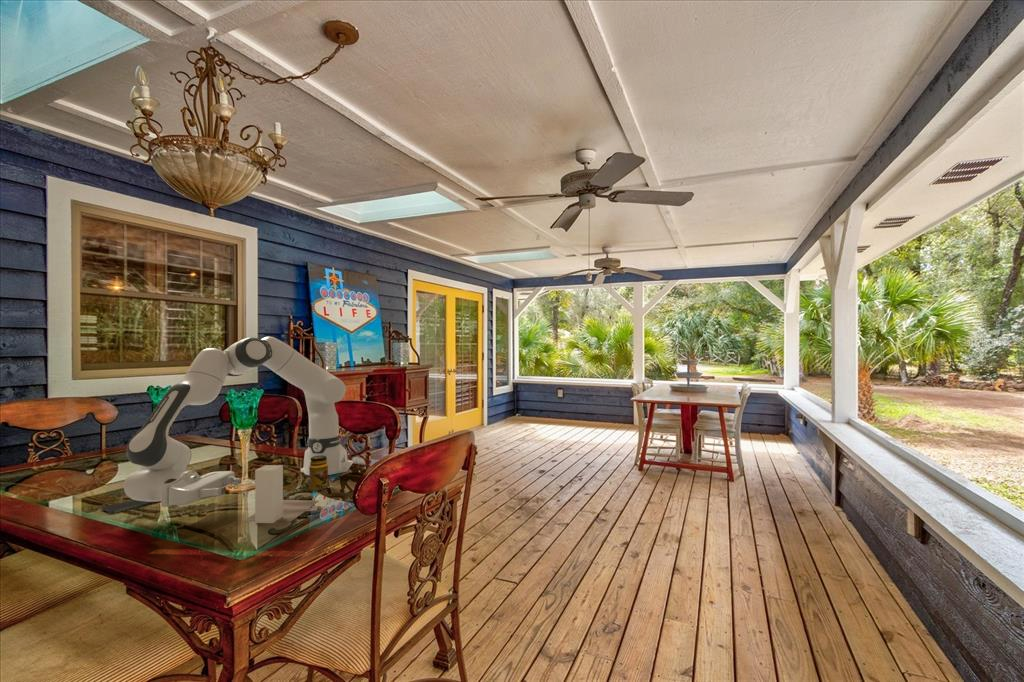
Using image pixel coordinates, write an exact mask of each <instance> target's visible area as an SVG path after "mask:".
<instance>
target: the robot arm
mask: <svg viewBox="0 0 1024 682" xmlns="http://www.w3.org/2000/svg"><path fill="white" fill-rule="evenodd" d="M196 355H197V356H195V358H194V360H193V361H192V362H191V364H190V366H189V367H188V369H187V371H186V373H185V375H184V376H183V378H182V379H181V380H180V381H179V383H176V384H174V385H172V386H171V387H170V388H169V389H168V390H167V391H166V392H165V394H164V395H163V396H162V398H161V399H160V401H159V402H158V404H157V405H156V407H155V408H154V409H153V411H152V412H151V414H150V415H149V417H148V418H147V420H146V421H145V422H144V424H143V425H142V427H141V428H140V429H139V430H138V431H137V432H136V433H135V434H134V435H133V436H131V439H129V442H128V443H127V445H126V451H125V452H126V453H125V454H126V458H127V460H128V461H129V462H130V463H131V464H133V465H138V466H141V467H139V468H138V469H137V470H135V471H134V472H131V473H130V474H128V475H127V476H126V478H125V479H124V482H123V490H124V493H125V495H126V497H128V498H130V499H131V500H138V501H147V502H158V501H161V502H160V506H161V508H167V507H170V506H183V505H190V504H193V503H195V502H196V501H199V500H201V499H204V498H208V497H217V496H219V495H221V494H222V489H224V488H226V487H228V486H230V485H232V486H239V485H241V484H242V482H243V481H242V480H243V479H242V478H241V477H236V476H235V472H234V471H232V470H223V471H222V470H220V471H211V472H208V473H205V474H202V475H199V473H198V472H197V471H195V470H188V469H187V468H189V467H188V466H189V464H190V462H191V460H192V450H191V448H190V447H189V446H188V445H186V444H184V443H183V442H181V441H179V440H176V439H174V438H172V437H170V436H169V429H170V427H171V426H172V424H173V422H175V420H176V418H177V416H178V415H179V413H180V412H181V410H182V409H183V408H185V407H186V406H202V405H207V404H209V403H212V402H213V401H214V400H215V399H217V397H218V395H219V394H220V392H221V390H222V387H223V385H224V383H225V380H226V378H227V377H239V376H242V375H245V374H248V373H249V372H251V371H254V370H255V369H256V368H258V367H260V366H264V367H266V368H268V369H269V370H271V371H272V372H273V373H275V374H276V375H278V376H279V377H280V378H281V379H283V380H285V381H287V382H288V383H289V384H291V385H292V386H295V387H296V388H298V389H300V390H301V391H303V393H304V394H303V395H304V398H305V403H306V408H307V413H308V437H307V447H308V448H307V449H305V451H304V457H303V458H304V459H303V467H302V468H300V473H303V474H304V475H306V476H309V466H310V465H311V464H310V462H311V458H312V457H313V456H319V455H323V456H326V457H327V464H328V476H330V475H336V474H340V473H346V472H348V471H349V470H350V468H351V467H352V465H353V463H354V461H353V460H350V459H348V450H346V448H345V447H344V446H343V445H342V444H341V440H342V439H343V433H341V434H340V433H339V414H338V412H337V410H336V406H335V403H338V402H340V401H342V400H343V399H344V397H345V395H346V392H347V387H346V384H345V383H344V381H343V380H342V379H340V378H339V377H337V376H335V375H334V374H332V373H331V372H330V371H328V370H326V369H324V368H323V367H321V366H320V365H318V364H316V363H314V362H313V361H311V360H310V359H308V358H307V357H306V356H304V355H303V354H301V352H298V351H297V350H296V349H294V347H292V346H290V345H289V344H287V343H286V342H284V341H282V340H280V339H278V338H276V337H274V336H269V335H268V336H265V337H262V338H258V337H246V338H243V339H241V340H239V341H236V342H234V343H233V344H231V345H230V346H228V347H227V348H226V349H224V350H221V349H220V348H215V347H208V348H205V349H202V350H201V351H200V352H199V353H198V354H196ZM158 503H159V502H158Z"/></svg>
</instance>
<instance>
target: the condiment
mask: <svg viewBox="0 0 1024 682" xmlns="http://www.w3.org/2000/svg"><path fill="white" fill-rule="evenodd" d="M310 464H311V465H310V466H309V475H308V476H309V477H308V478H309V479H308V481H309V482H308V483H309V485H308V486H309V491H315V492H317V491H322V490H326V489H328V488H329V475H328V464H327V457H326V456H323V455H319V456H313V457H312V458H311V462H310Z"/></svg>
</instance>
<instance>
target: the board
mask: <svg viewBox="0 0 1024 682" xmlns="http://www.w3.org/2000/svg"><path fill="white" fill-rule="evenodd" d="M318 502H319V500H311V499H310V500H306V499H304V500H303V499H300V500H299V499H298V500H297V499H295V500H294V499H291V500H290V499H283V517H281V518H280V519H279V520H277V521H276V522H275V523H291V522H293V521H294V520H295V519H297V518H298V517H299V516H301V515H302V514H303V513H305V512H306V511H307V510H309V509H310V508H312V507H313V506H315V505H316V504H317V503H318ZM243 522H253V523H255V513H254V514H252V515H250V516H248V517H247V518H246V519H244V520H243Z"/></svg>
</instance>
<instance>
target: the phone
mask: <svg viewBox="0 0 1024 682" xmlns="http://www.w3.org/2000/svg"><path fill="white" fill-rule="evenodd" d="M152 503H154V504H156V503H155V502H147V501H138V500H133V499H131V500H127V501H126V500H125V501H121V502H118V503H114V504H110V505H106V506H103V507H101V511H102V510H103V511H102V512H104V511H106V512H108V513H107V514H109V513H115V514H118V513H117V512H119V513H122V512H121V511H123V512H126V511H125V510H127V511H129V510H128V509H131V510H134V509H133V508H135V509H138V508H137V507H139V508H141V507H140V506H143V507H145V506H144V505H147V506H149V505H148V504H150V505H153V504H152ZM158 503H160V502H159V501H158ZM106 512H105V513H106Z"/></svg>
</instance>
